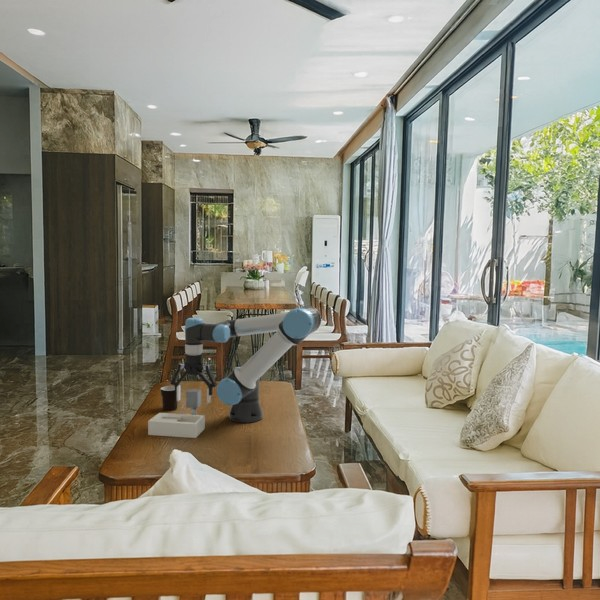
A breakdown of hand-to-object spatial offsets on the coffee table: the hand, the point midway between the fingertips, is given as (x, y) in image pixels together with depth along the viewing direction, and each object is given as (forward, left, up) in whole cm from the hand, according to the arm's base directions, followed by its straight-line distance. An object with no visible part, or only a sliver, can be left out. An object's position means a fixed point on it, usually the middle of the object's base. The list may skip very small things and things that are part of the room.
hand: (193, 401), depth 243 cm
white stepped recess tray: (+2, +14, -9) cm, 17 cm away
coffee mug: (+17, -18, -9) cm, 26 cm away
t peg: (0, 0, -9) cm, 9 cm away
